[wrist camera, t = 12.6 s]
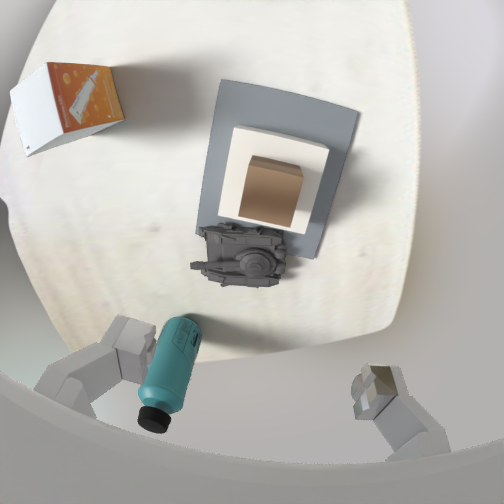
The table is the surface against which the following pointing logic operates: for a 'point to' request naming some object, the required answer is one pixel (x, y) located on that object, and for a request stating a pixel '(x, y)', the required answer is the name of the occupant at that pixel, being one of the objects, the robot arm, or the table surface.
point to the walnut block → (271, 191)
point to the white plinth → (276, 148)
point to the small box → (64, 104)
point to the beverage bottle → (168, 374)
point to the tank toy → (242, 255)
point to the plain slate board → (285, 122)
